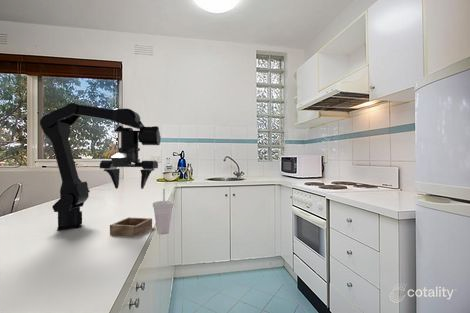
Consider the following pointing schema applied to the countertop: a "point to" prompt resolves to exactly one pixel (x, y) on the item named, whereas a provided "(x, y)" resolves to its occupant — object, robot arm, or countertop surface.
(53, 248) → the countertop surface
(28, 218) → the countertop surface
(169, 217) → the smoothie
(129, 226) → the socket block
